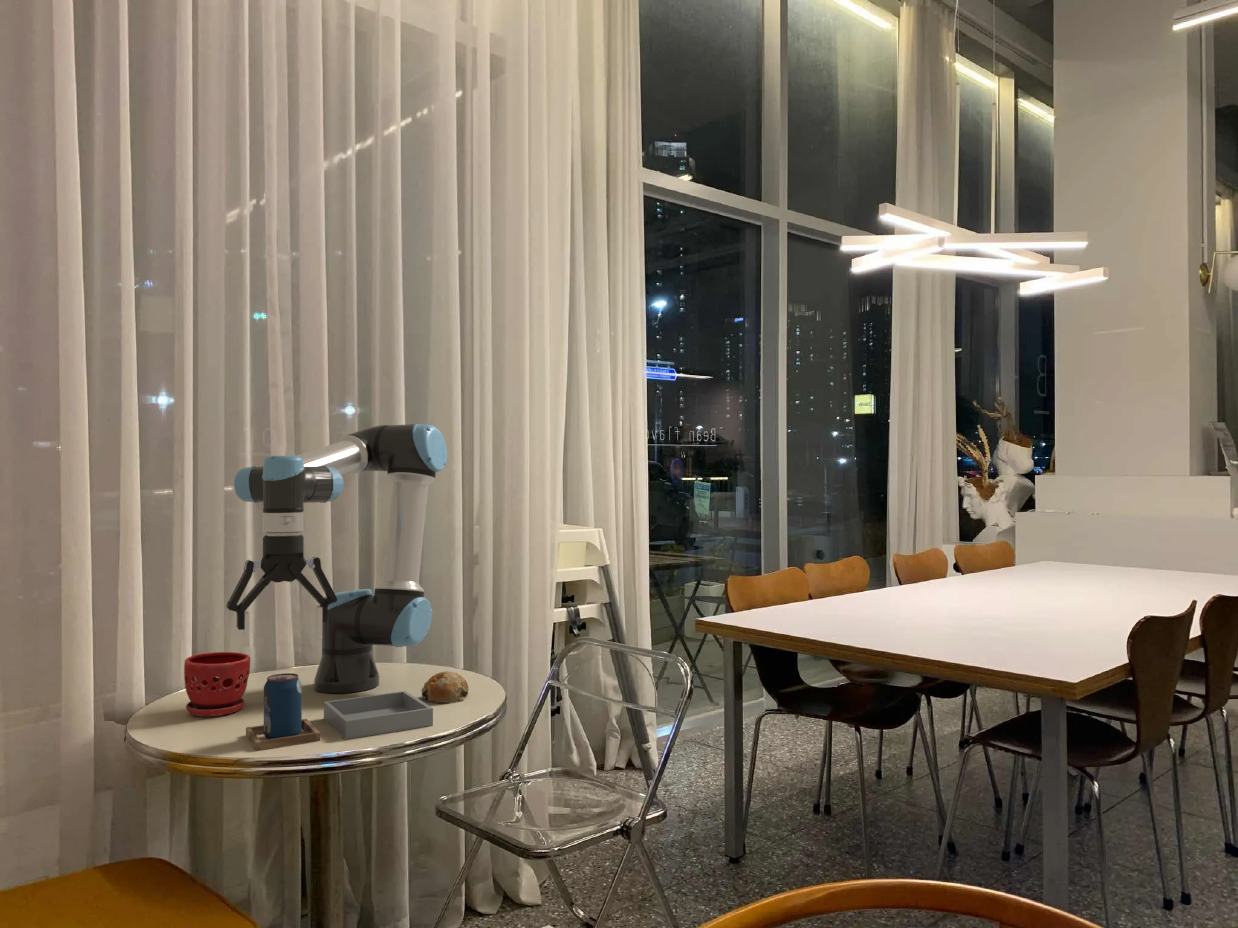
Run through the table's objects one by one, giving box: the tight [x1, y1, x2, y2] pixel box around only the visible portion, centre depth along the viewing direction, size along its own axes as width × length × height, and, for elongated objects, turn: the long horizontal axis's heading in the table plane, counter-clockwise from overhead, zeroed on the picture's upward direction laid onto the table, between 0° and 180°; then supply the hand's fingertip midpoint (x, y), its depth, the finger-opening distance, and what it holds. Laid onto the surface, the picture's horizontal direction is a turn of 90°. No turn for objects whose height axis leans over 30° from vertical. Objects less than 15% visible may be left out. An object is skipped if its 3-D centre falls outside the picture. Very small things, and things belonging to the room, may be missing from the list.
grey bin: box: [323, 690, 434, 740], centre depth 184 cm, size 18×18×4 cm
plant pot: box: [183, 651, 251, 718], centre depth 192 cm, size 13×13×12 cm
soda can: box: [263, 672, 302, 740], centre depth 173 cm, size 7×7×12 cm
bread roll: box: [420, 671, 469, 704], centre depth 203 cm, size 10×10×8 cm
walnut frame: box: [245, 718, 321, 751], centre depth 173 cm, size 12×12×2 cm
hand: (283, 642), depth 173 cm, fingers open, 13 cm apart
